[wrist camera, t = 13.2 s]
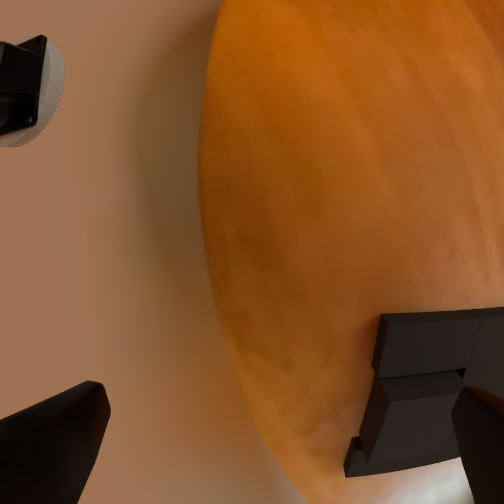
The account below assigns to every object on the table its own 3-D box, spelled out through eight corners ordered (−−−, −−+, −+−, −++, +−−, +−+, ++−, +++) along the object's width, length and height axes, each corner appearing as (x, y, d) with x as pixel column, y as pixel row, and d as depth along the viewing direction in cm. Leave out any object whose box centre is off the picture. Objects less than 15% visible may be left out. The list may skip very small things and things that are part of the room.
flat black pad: (343, 465, 22) (345, 478, 21) (381, 313, 18) (388, 324, 17) (512, 428, 21) (518, 436, 20) (565, 299, 17) (575, 305, 16)
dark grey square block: (358, 432, 21) (367, 464, 18) (375, 370, 20) (390, 402, 16) (427, 423, 21) (441, 451, 17) (450, 363, 19) (471, 390, 16)
